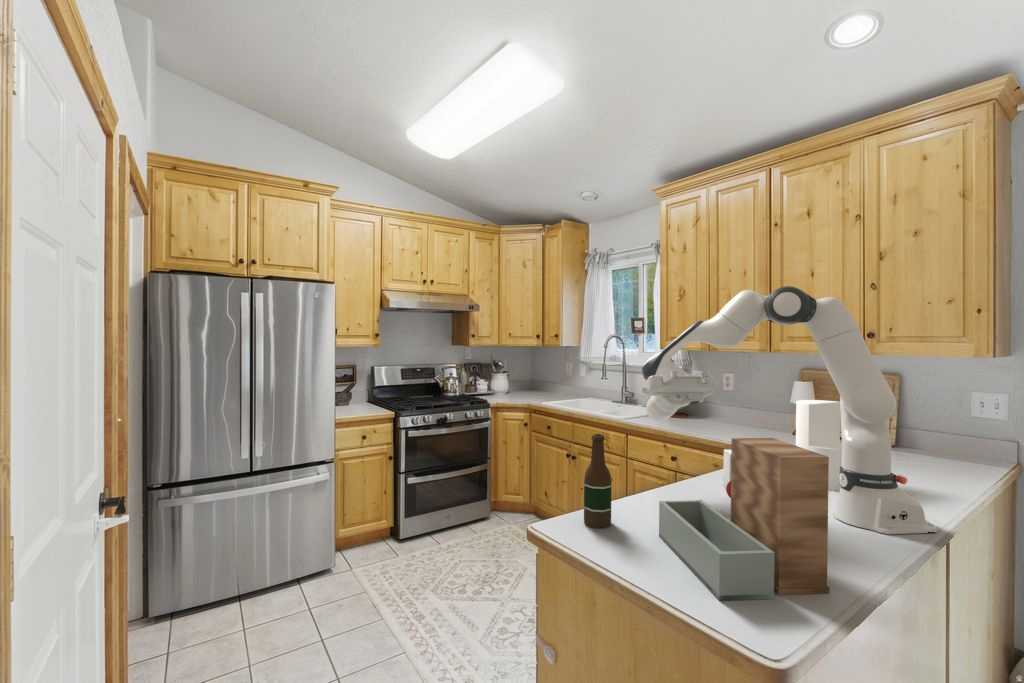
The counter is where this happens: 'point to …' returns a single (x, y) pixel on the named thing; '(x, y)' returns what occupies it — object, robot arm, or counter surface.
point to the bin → (717, 551)
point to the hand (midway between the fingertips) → (690, 373)
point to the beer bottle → (597, 487)
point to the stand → (784, 509)
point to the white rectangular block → (821, 433)
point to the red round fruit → (728, 489)
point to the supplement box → (727, 467)
